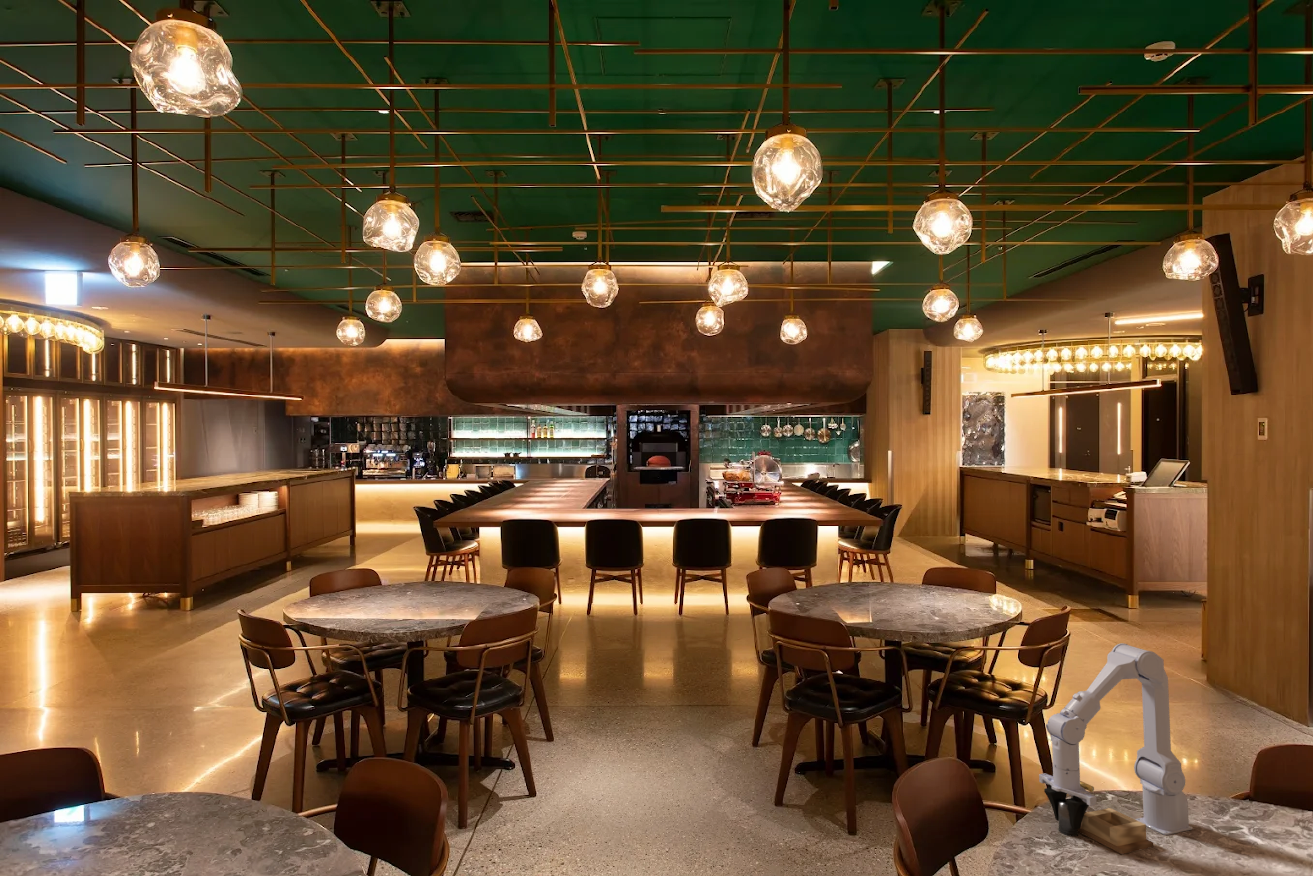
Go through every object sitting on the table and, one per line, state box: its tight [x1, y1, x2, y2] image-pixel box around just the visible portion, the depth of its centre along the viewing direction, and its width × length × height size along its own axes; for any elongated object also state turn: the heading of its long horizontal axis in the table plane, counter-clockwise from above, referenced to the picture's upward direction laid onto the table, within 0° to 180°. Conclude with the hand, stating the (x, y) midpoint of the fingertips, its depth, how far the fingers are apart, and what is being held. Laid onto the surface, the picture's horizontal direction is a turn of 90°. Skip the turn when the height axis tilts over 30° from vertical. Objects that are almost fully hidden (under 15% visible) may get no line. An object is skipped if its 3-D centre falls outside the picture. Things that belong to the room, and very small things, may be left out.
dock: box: [1070, 795, 1154, 855], centre depth 177 cm, size 10×17×8 cm, turn 19°
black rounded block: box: [1058, 798, 1079, 837], centre depth 178 cm, size 4×4×7 cm
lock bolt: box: [1080, 780, 1095, 793], centre depth 185 cm, size 2×9×2 cm, turn 19°
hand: (1067, 824), depth 178 cm, fingers closed on black rounded block, 4 cm apart
